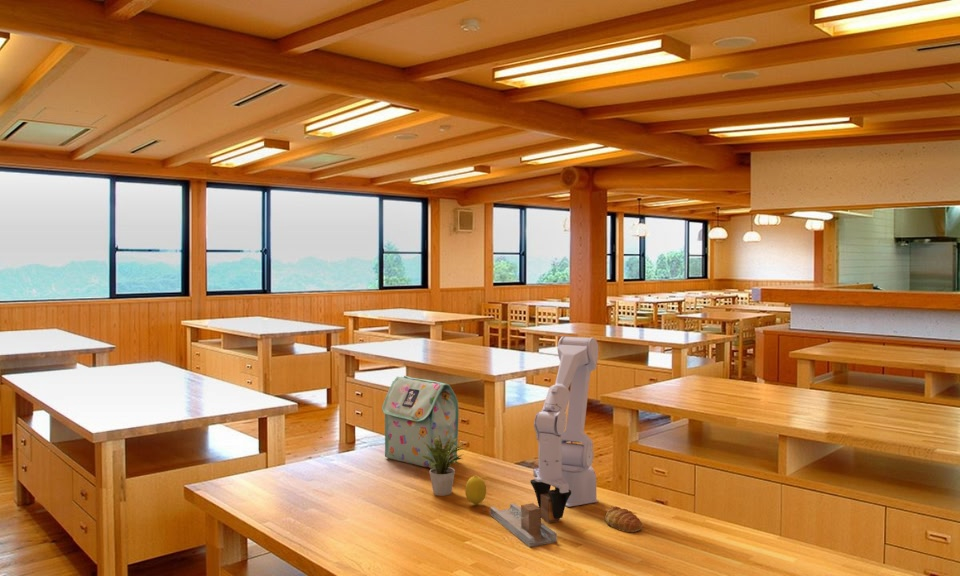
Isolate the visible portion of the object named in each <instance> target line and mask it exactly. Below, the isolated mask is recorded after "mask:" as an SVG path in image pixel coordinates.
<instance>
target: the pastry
mask: <svg viewBox="0 0 960 576" xmlns="http://www.w3.org/2000/svg"><path fill="white" fill-rule="evenodd" d="M604 520H605V522H606V524H607V525H608V526H610V527H611V528H613V527H614V528H613V529H617V530H619V529H620V531H622V530H624V531H623V532H626V531H627V532H631V533H636V532H637V531H641V530H642V526H643V523H642V521H641V519H640V518H639V517H638V516H637V515H636V514H634V513H633V512H632V511H631V510H628V509H626V508H621V506H613V507H610V509H609V510H607V511H606V514H605V516H604Z"/></svg>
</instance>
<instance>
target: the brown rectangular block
mask: <svg viewBox="0 0 960 576" xmlns="http://www.w3.org/2000/svg"><path fill="white" fill-rule="evenodd" d="M541 520H543V521H545V522H547V524H552V523H556V522H560V521H561V518H558V519H555V518H554V516H553V510H552V503H551V499H550V496H549V494H548V493H545V494H541Z"/></svg>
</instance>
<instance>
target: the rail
mask: <svg viewBox="0 0 960 576" xmlns="http://www.w3.org/2000/svg"><path fill="white" fill-rule="evenodd" d="M509 506H510V508H505V509H504V508H503V509H500V510H499V509H498V508H497V507H496V506H490V507H489V516H490V517H492V518H493V519H494V520H496V521H497V522H498V523H499V524H501V525H502V526H503V527H504V528H505V529H507V530H508V531H509V532H510V533H511V534H513V536H515V537H516V538H517V539H519V540H520V541H521V542H523V543H524V544H525V545H526V546H528V548H533V547H534V548H535V547H539V546H542V545H543V546H544V545H549V544H554V543H557V542H558V541H557V540H558V538H557V537H558V536H557V535H558V533H556V532H555V531H554V530H552V529H551V528H550V527H548V526H547V525H546V524H545V523H542V518H541V508H539V505H536V504H535V503H533V502H531V503H527V504H520V505H518V504H516V503H513V502H512V503H510V505H509Z"/></svg>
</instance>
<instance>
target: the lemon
mask: <svg viewBox="0 0 960 576" xmlns="http://www.w3.org/2000/svg"><path fill="white" fill-rule="evenodd" d="M464 491H465V493H464V494H465V496H466V499H467V500H468V502H470V503H471V504H473V505H474V506H478V505H479V504H480V503H482V502H483V501H484V499H485V498H486V496H487V486H486V483H485V481H484V479H482V477H480V476H478V475H473V476H472V477H470V478H469V479H468V480H467V482H466V484H465V490H464Z"/></svg>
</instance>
